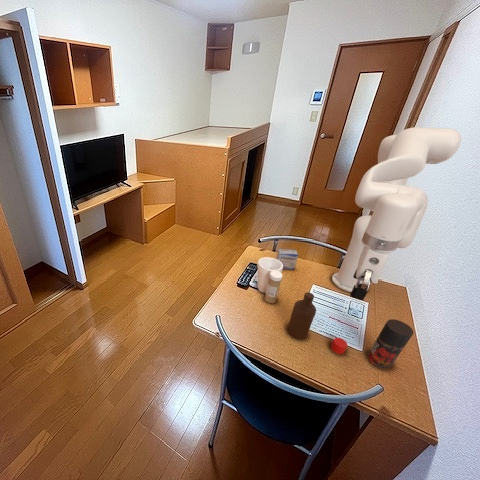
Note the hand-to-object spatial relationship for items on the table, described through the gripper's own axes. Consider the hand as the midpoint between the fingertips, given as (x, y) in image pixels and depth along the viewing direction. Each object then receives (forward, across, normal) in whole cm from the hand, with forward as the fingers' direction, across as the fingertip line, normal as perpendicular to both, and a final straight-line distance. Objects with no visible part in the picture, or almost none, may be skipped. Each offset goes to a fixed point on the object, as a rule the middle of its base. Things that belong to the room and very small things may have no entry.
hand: (357, 288), depth 78 cm
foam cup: (+22, +11, +27) cm, 37 cm away
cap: (+22, -5, -1) cm, 23 cm away
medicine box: (+23, +31, +25) cm, 46 cm away
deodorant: (+22, -3, -12) cm, 25 cm away
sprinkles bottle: (+22, +5, +24) cm, 33 cm away
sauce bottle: (+22, -6, +11) cm, 25 cm away
